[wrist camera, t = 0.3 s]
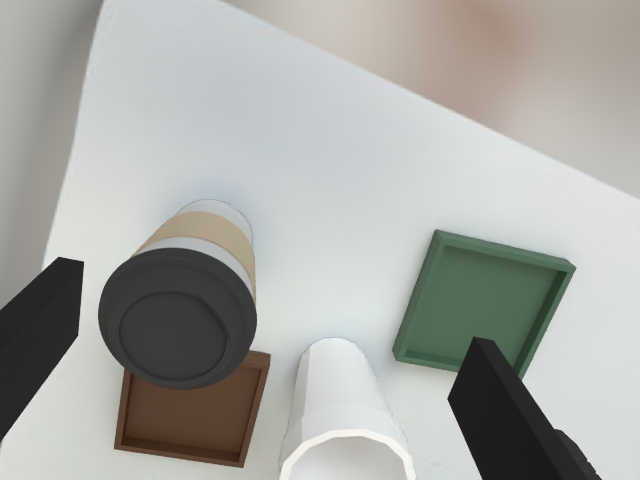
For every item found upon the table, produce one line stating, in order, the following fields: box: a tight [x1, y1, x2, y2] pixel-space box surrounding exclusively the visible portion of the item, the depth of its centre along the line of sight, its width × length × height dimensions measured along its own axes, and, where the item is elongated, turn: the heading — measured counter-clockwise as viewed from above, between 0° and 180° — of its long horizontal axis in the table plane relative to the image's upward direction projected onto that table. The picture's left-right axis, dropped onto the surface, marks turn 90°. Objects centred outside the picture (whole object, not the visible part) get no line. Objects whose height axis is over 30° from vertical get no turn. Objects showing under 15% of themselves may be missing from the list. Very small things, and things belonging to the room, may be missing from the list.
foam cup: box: [278, 338, 416, 480], centre depth 40 cm, size 10×9×13 cm
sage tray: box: [393, 230, 576, 381], centre depth 43 cm, size 12×12×2 cm
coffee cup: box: [98, 200, 257, 390], centre depth 33 cm, size 9×9×15 cm
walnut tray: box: [114, 351, 271, 468], centre depth 45 cm, size 12×12×2 cm
